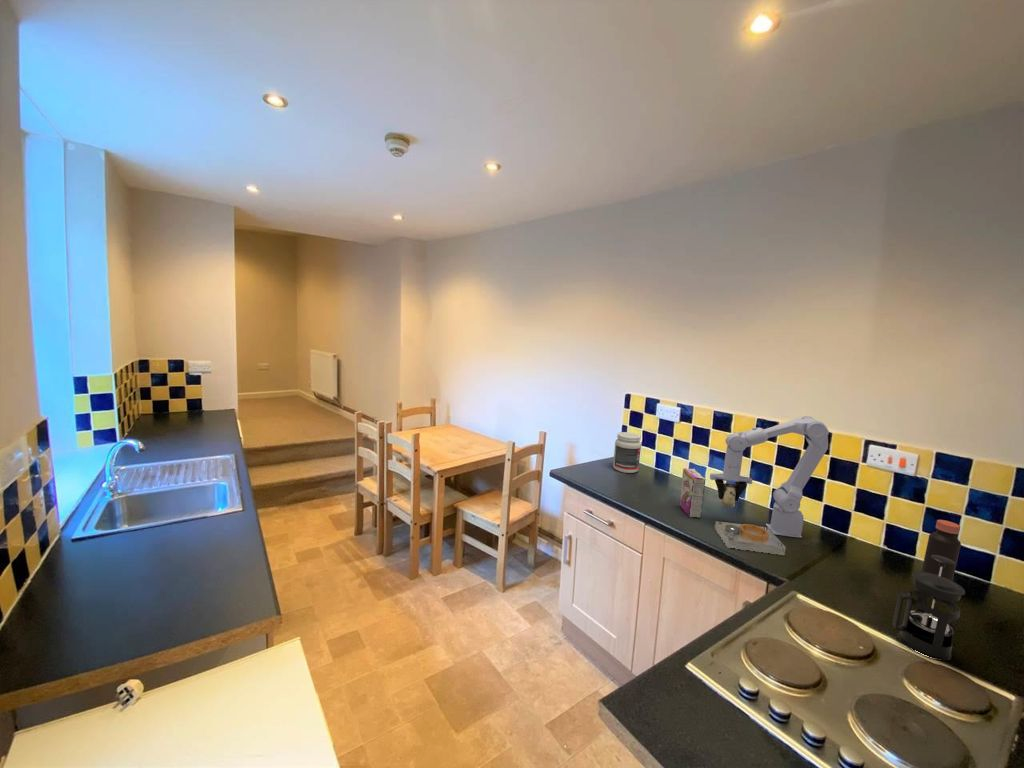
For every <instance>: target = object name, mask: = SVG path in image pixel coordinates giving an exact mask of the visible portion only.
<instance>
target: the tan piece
mask: <svg viewBox="0 0 1024 768" xmlns="http://www.w3.org/2000/svg"><path fill="white" fill-rule="evenodd" d="M724 484H725V486H724V490H723V497H722V499H719V503H720V505H721V506H723V507H725V508H734V507H735V504H736V501H735V499H736V492H737V486H735V483H733V482H731V481H725V482H724Z"/></svg>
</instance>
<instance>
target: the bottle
mask: <svg viewBox="0 0 1024 768" xmlns="http://www.w3.org/2000/svg"><path fill="white" fill-rule="evenodd" d="M935 524H936V525H935V530H936V531H934V532H931V533H930V534H929V535H928V540H927V545H926V548H925V554H924V558H923V562H922V565H921V566H922V567H921V571H920V572H928V573H932V574H935V575H939V571H940V567H941V566H939V563H940V562H938V561H936V560H934V559H932V558H931V555H939V556H943V557H946V558H948V559H950V560H952V561H954V562H955V563H956V565H947V564H945V567H943V568H942V572H941V576H942V577H944V578H947V579H949V580H951V581H953V582H954V578H955V577H954V575H955V572H956V567H957V563H958V559H959V554H960V551H961V546H962V543H961V540H959V538H957V536H959V534H960V529H961V526H960V525H959V524H958V523H955V522H952V521H949V520H944V519H937V520H936V523H935Z"/></svg>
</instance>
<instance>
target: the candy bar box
mask: <svg viewBox="0 0 1024 768" xmlns="http://www.w3.org/2000/svg"><path fill="white" fill-rule="evenodd" d="M682 470H683V471H682V478H681V487H680V488H681V489H680V496H679V504H678V506H679V507H680V508H681V509H682V510H683V512H684V513H685V514H686V515H687V516H688V517H689V518H692V517H697V518H698V519H701V518H702V512H703V511H702V510H703V503H704V502H703V501H704V495H705V494H704V493H705V485H706V478H705V477H704V476H703V475H702V474H700V473H699V472H698V471H697V470H696V469H695V468H682Z"/></svg>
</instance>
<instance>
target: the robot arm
mask: <svg viewBox="0 0 1024 768" xmlns="http://www.w3.org/2000/svg"><path fill="white" fill-rule="evenodd" d="M791 433H792V434H793V433H794V434H797V435H801V436H804V437H805V440H806V441H807V443H808V446H807V448H806V449H805V451H804V452H803V454H802V456H801V458H800V459H799V460H798V463H797V464H796V466H795V467H794V469H793V471H792V472H791V474H790V476H789V477H788V479H787V480H786V481H784V482H783V483H781V485H780V486H779V487H778V488H776V489H775V490H774V491H773V492H772V498H773V499H774V501H775V502H774V504H773V506H772V507H773V508H772V514H771V520H770V523H765V525H766V526H765V527H767V528H769V529H770V530H771V532H772V533H773V534H774V535H775V536H777V535H778V536H783V537H790V538H791V537H793V538H799V539H800V538H801V539H802V538H803V536H802V532H803V528H804V527H803V526H804V514H803V512H802V511H801V510H800V508H801V502H802V499H803V489H804V488H805V486H806V484H807V483H808V482H809V480H810V479H811V477H812V475H813V473H814V472H815V470H816V469H817V467H818V466H819V464H820V462H821V461H822V459H823V457H824V455H825V454H826V452H827V450H828V449H829V434H830V431H829V429H828V427H827V426H826V425H825V424H824V423H823V422H821V421H819V420H817V419H815V418H813V416H802V417H796V418H794V419H792V420H788V421H786V422H783V423H779V424H776V425H773V426H771V427H767V428H762V427H756V426H753V427H751V429H748V430H744V431H742V430H741V431H738V433H736V432H734V433H730V434H728V436H727V437H726V438H725V443H726V445H727V446H726V451H725V456H724V464H723V471H722V473H709V479H710V480H711V481H714V482H715V485H716V488H717V493H718V499H719V500H721V499H722V497H723V490H724V486H725V484H724V483H725V482H731V483H733V482H734V484H735V486H737V492H736V499H735V502H739V499H740V496H741V494H743V492H744V490H746V489H747V484H749V485H753V478H751V477H748V476H743V475H741V472H742V471H741V470H742V463H743V462H742V461H743V457H744V454H743V453H744V451H745V450H746V448H749V447H752V446H757V445H760V444H763V443H766V442H767V441H768V439H769V438H773V437H774V438H775V437H778V436H783V435H787V434H791ZM724 481H725V482H724Z"/></svg>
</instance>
